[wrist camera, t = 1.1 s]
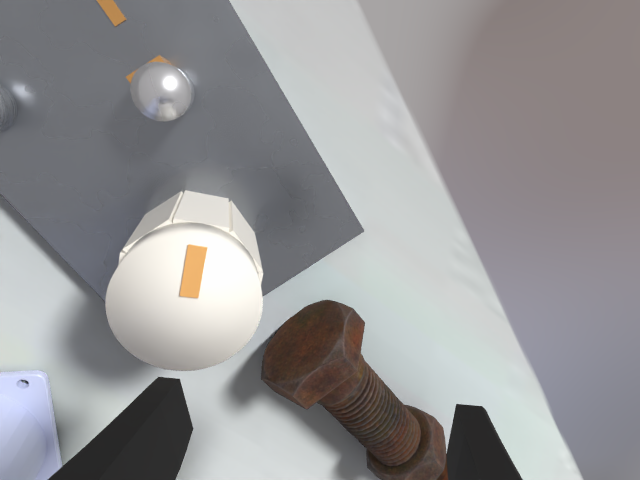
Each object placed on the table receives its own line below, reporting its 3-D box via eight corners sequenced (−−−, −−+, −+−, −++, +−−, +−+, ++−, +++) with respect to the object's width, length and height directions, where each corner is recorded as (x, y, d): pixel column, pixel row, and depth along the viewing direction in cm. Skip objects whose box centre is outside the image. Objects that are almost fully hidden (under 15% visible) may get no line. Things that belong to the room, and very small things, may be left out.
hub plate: (358, 225, 22) (381, 248, 19) (164, 349, 22) (154, 394, 19) (160, -112, 16) (143, -163, 13) (-108, 62, 16) (-193, 54, 13)
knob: (241, 301, 21) (247, 377, 15) (134, 287, 20) (97, 365, 14) (262, 204, 20) (276, 249, 14) (147, 183, 18) (113, 223, 13)
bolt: (406, 443, 31) (279, 309, 24) (474, 434, 28) (353, 282, 22) (401, 535, 26) (246, 400, 20) (482, 534, 24) (333, 379, 17)
